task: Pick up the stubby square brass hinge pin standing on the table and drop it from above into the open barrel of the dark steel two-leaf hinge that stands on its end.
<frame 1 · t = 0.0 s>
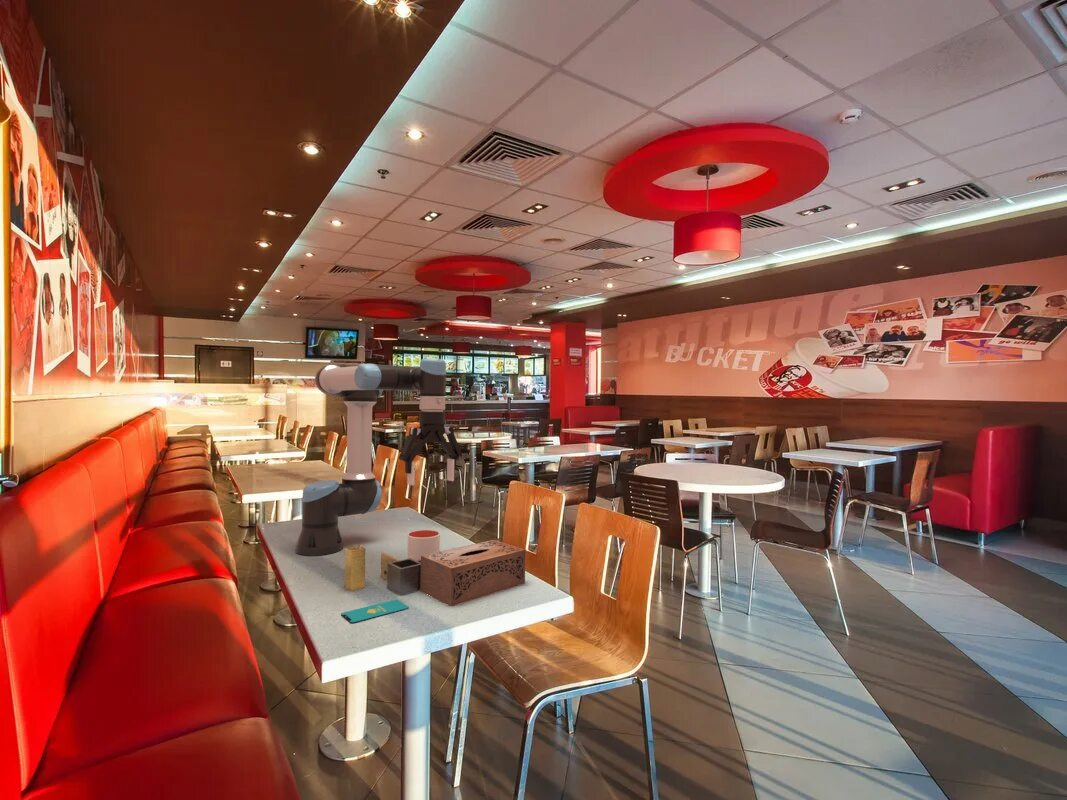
hand: (431, 482, 156), 28 cm above the table, fingers open, 13 cm apart
smartphone: (375, 613, 130), on the table
cup: (423, 565, 168), on the table
tissue box cover: (473, 588, 148), on the table
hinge: (405, 588, 146), on the table
pin: (354, 587, 147), on the table
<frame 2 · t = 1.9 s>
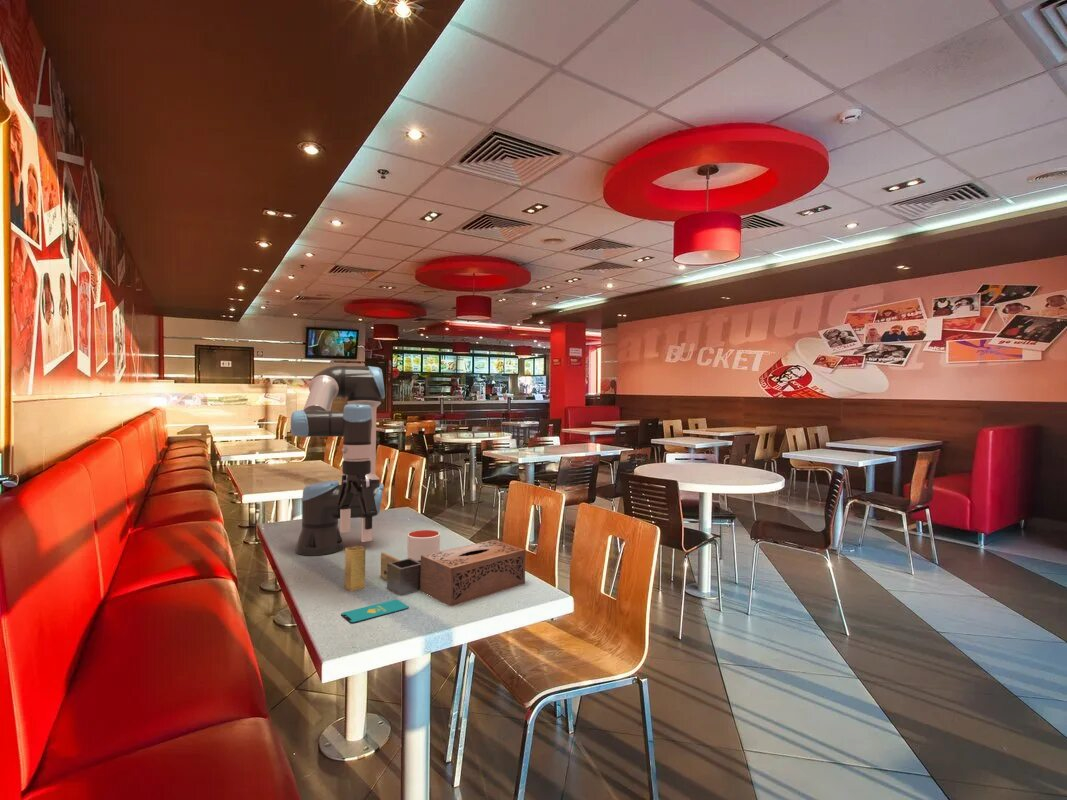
hand: (355, 536, 147), 14 cm above the table, fingers open, 13 cm apart
nothing on the table moved.
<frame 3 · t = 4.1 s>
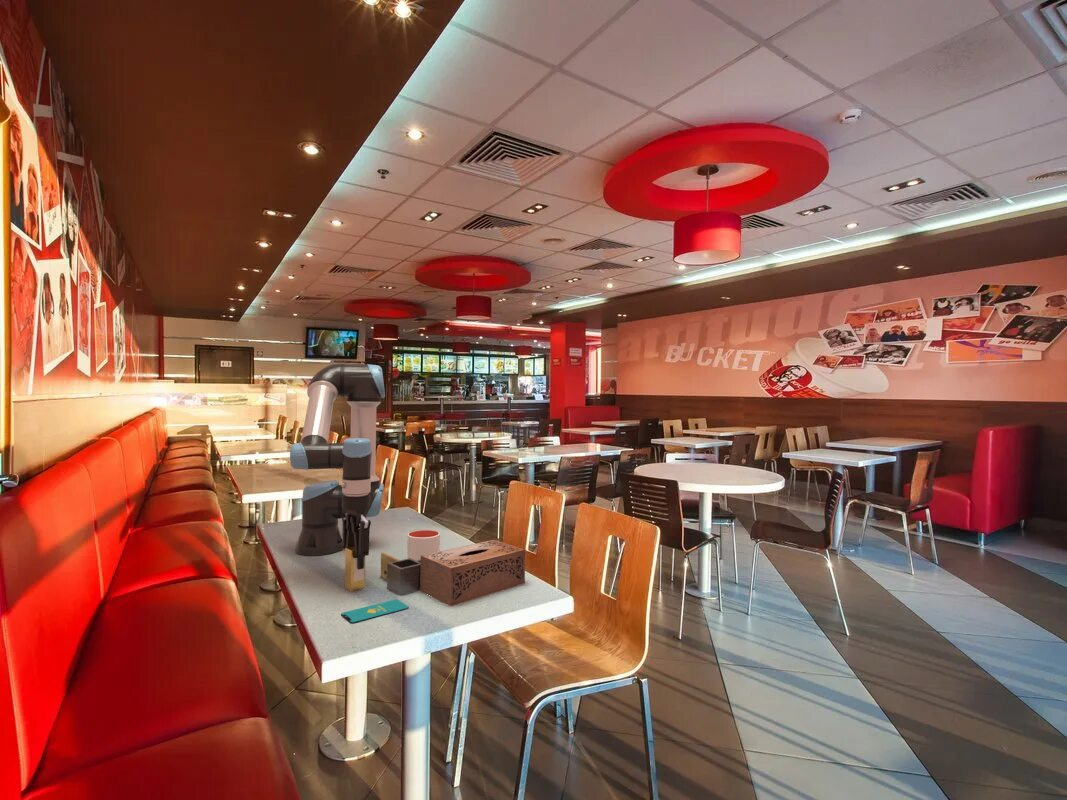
hand: (354, 577, 147), 3 cm above the table, fingers closed on pin, 4 cm apart
pin: (354, 587, 147), on the table, touching gripper
everything else where it was.
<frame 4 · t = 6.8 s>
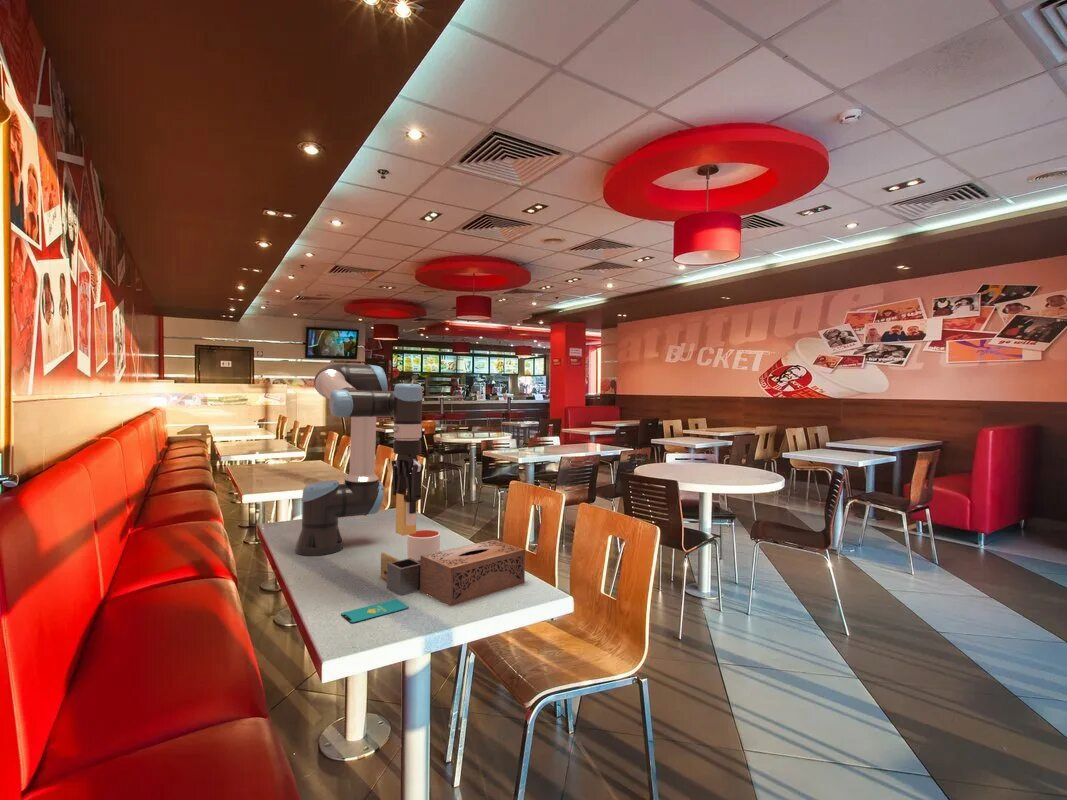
hand: (406, 523, 146), 18 cm above the table, fingers closed on pin, 4 cm apart
pin: (405, 533, 146), point 15 cm above the table, touching gripper
everything else where it was.
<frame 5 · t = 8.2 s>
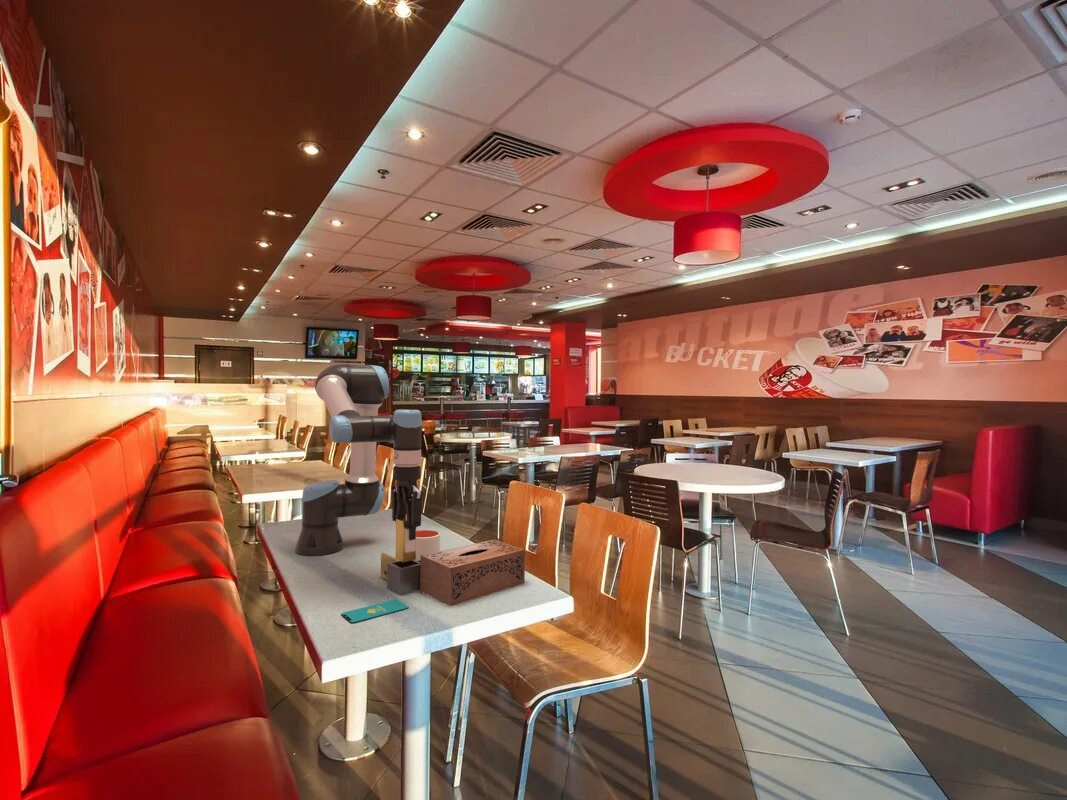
hand: (405, 549, 146), 11 cm above the table, fingers closed on pin, 4 cm apart
pin: (405, 559, 146), point 8 cm above the table, touching gripper
everything else where it was.
when the fingers open (9 cm above the table, at t = 9.6 s): pin drops 3 cm, resting on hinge.
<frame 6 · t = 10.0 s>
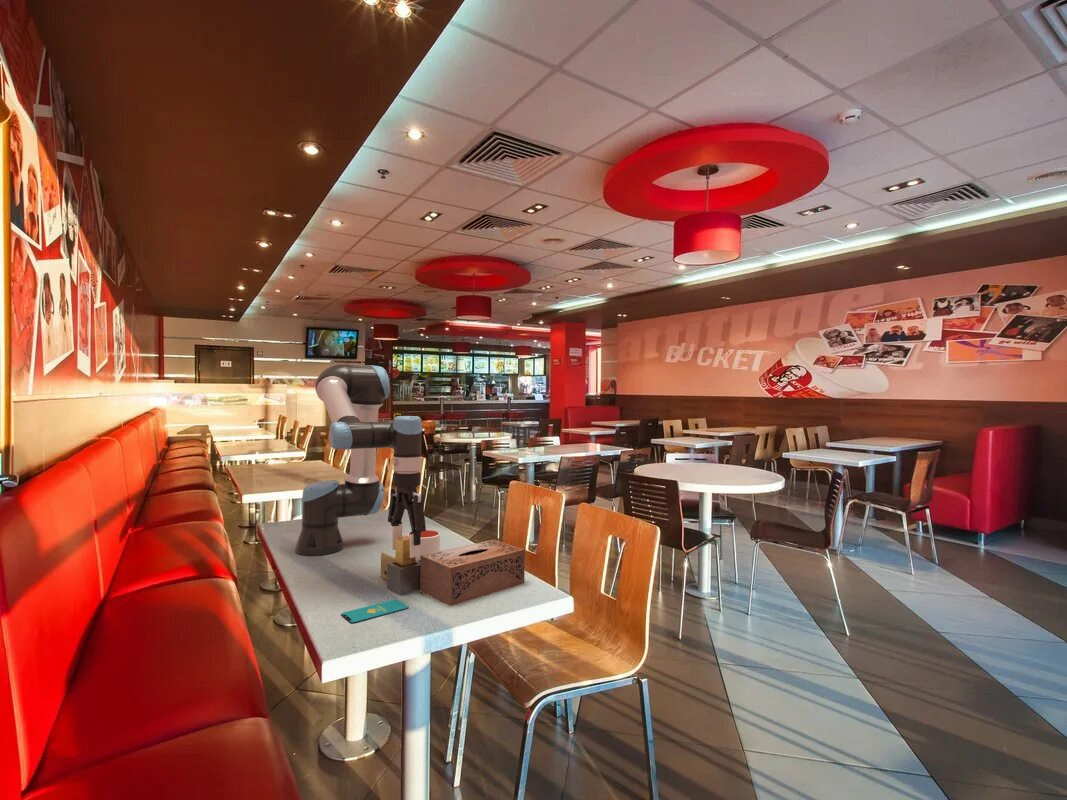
hand: (405, 552, 146), 10 cm above the table, fingers open, 9 cm apart
pin: (405, 577, 146), point 3 cm above the table, touching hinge
everything else where it was.
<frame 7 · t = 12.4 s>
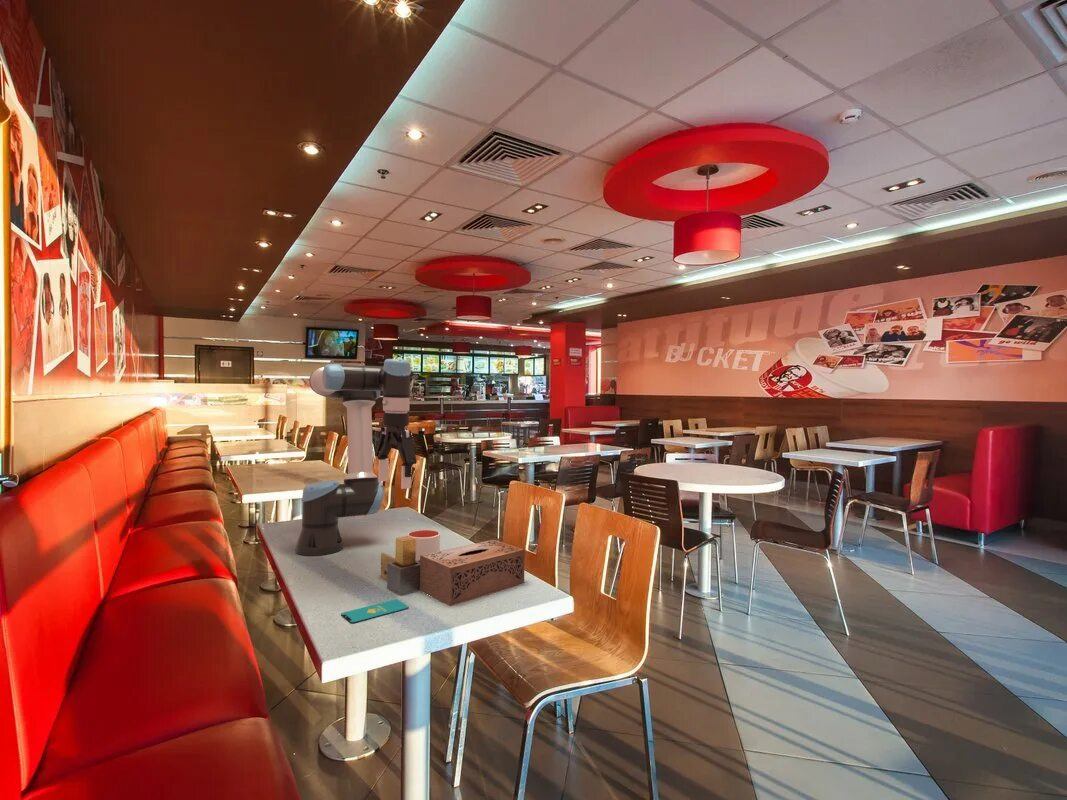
hand: (394, 484, 154), 28 cm above the table, fingers open, 13 cm apart
nothing on the table moved.
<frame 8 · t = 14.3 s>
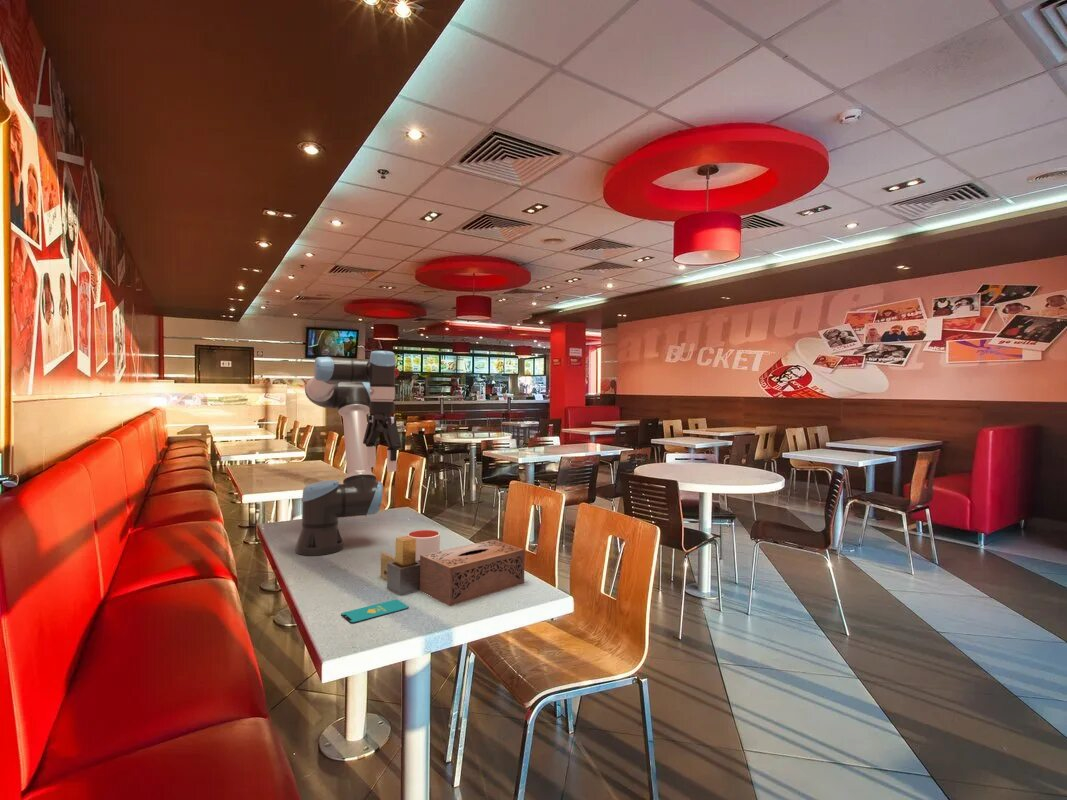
hand: (381, 469, 164), 31 cm above the table, fingers open, 13 cm apart
nothing on the table moved.
at the end: pin 0.0 cm off-centre on the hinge, point 3.0 cm above the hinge's base; pin tilted 0°; the gripper is holding nothing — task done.
